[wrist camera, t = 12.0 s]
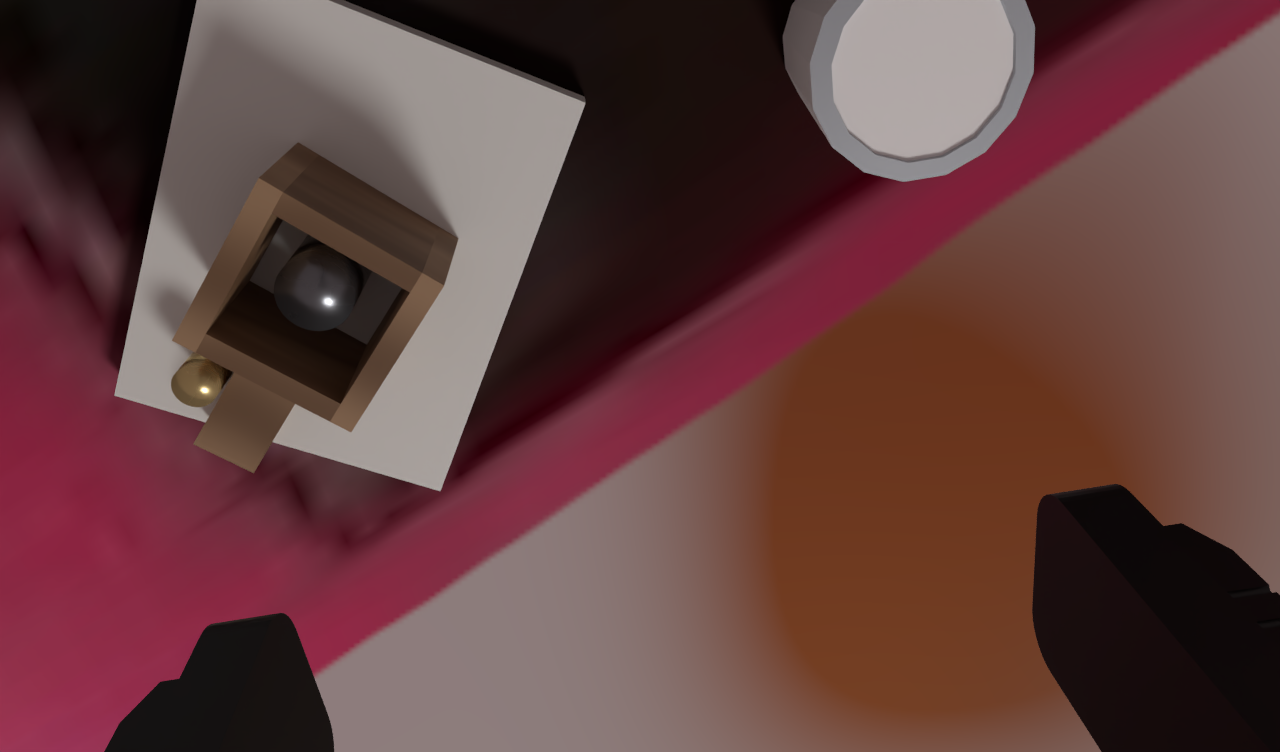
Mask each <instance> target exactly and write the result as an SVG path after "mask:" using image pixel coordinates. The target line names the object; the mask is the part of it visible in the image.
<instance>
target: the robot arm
mask: <svg viewBox="0 0 1280 752" xmlns="http://www.w3.org/2000/svg"><path fill="white" fill-rule="evenodd" d="M1032 611H1033V612H1032V613H1033V622H1034V629H1035V633H1036V638H1037V641H1038V645H1039V648H1040V651H1041V653H1042V656H1043V658H1044V661H1045V663H1046V665H1047V667H1048V668H1049V670H1050V672H1051V673H1052V675H1053V677H1054V678H1055V680H1056V681H1057V683H1058V684H1059V686H1060V687H1061V689H1062V691H1063V692H1064V693H1065V695H1066V697H1067V698H1068V700H1069V702H1070V703H1071V705H1072V706H1073V708H1074V709H1075V711H1076V712H1077V714H1078V716H1079V717H1080V719H1081V720H1082V722H1083V723H1084V725H1085V726H1086V728H1087V730H1088V731H1089V733H1090V734H1091V736H1092V738H1093V739H1094V741H1095V742H1096V744H1097V745H1098V747H1099V748H1100V750H1101V752H1280V595H1279V594H1278V593H1277V592H1276V593H1272V592H1271V591H1270V588H1269V585H1268V584H1267V583H1266V582H1265V581H1264V580H1263V579H1262V578H1261V577H1260V576H1259V575H1258V574H1257V573H1256V572H1255V571H1254V570H1253V569H1252V568H1251V567H1250V566H1249V565H1248V564H1247V563H1246V562H1245V561H1243V560H1242V559H1241V558H1240V557H1239V556H1238V555H1237V554H1236V553H1235V552H1234V551H1233V550H1232V549H1230V548H1228V547H1226V546H1224V545H1222V544H1220V543H1218V542H1216V541H1214V540H1212V539H1210V538H1209V537H1207V536H1205V535H1203V534H1201V533H1199V532H1197V531H1195V530H1193V529H1191V528H1189V527H1188V526H1186V525H1184V524H1181V523H1180V524H1175V525H1168V526H1163V525H1162V524H1161V523H1160V522H1159V521H1158V520H1157V519H1156V518H1155V517H1154V516H1153V515H1152V514H1151V513H1150V512H1149V511H1148V510H1147V509H1146V508H1145V507H1144V506H1143V505H1142V504H1141V503H1140V502H1139V501H1138V500H1137V499H1136V498H1135V497H1134V496H1133V495H1132V494H1131V493H1130V492H1129V491H1128V490H1127V489H1126V488H1124V487H1123V486H1121V485H1118V484H1113V485H1106V486H1100V487H1093V488H1087V489H1081V490H1074V491H1068V492H1061V493H1055V494H1049V495H1046V496H1044V497H1043V498H1042V499H1041V501H1040V503H1039V507H1038V512H1037V528H1036V548H1035V567H1034V587H1033V609H1032ZM104 752H334V741H333V733H332V728H331V723H330V720H329V717H328V714H327V711H326V708H325V706H324V703H323V700H322V698H321V695H320V692H319V690H318V687H317V684H316V681H315V679H314V676H313V673H312V671H311V668H310V665H309V663H308V660H307V657H306V655H305V652H304V649H303V647H302V644H301V641H300V639H299V636H298V633H297V631H296V628H295V626H294V624H293V622H292V621H291V619H290V618H289V617H288V616H287V615H286V614H283V613H278V614H272V615H265V616H259V617H253V618H246V619H240V620H234V621H227V622H221V623H215V624H211V625H209V626H207V627H206V628H205V630H204V631H203V632H202V634H201V636H200V638H199V640H198V642H197V644H196V646H195V648H194V650H193V652H192V654H191V656H190V658H189V660H188V662H187V664H186V666H185V668H184V670H183V672H182V674H181V676H180V678H179V679H175V680H169V681H163V682H160V683H159V684H158V685H157V686H156V687H155V688H154V689H153V690H152V691H151V692H150V693H149V694H148V695H147V696H146V697H145V698H144V699H143V700H142V701H141V702H140V703H139V704H138V705H137V706H136V707H135V708H134V709H133V710H132V711H131V712H130V713H129V714H128V715H127V716H126V717H125V718H124V719H123V720H122V721H121V722H120V724H119V725H118V727H117V729H116V731H115V733H114V735H113V737H112V738H111V740H110V742H109V744H108V746H107V748H106V750H105V751H104Z"/></svg>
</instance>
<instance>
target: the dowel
mask: <svg viewBox="0 0 1280 752" xmlns="http://www.w3.org/2000/svg"><path fill="white" fill-rule="evenodd" d="M232 374H233V372H232V371H230V370H228V369H226V368H224V367H222V366H220V365H218V364H216V363H214V362H212V361H211V360H209V359H207V358H205V357H203V356H201V355H199V354H197V353H195V352H192V354H191V355H190V356H189V357H188V358H187V360H186V361H185V362H184V363H183V365H182V366H181V367H180V368H179V369H178V371H177V372H176V373H175V374H174V376H173V377H172V380H171V389H172V392H173V394H174V395H175V397H176V398H177V399H178V400H179V401H181V402H182V403H184V404H186V405H188V406H191V407H204V406H207V405H209V404H210V403H212V402H213V401H214V399H215V398H216V397H217V395H218V394H219V392H220V391H221V389H222V388H223V387H224V385H225V384H226V382H227V381H228V379H229V378H230V377H231V375H232Z"/></svg>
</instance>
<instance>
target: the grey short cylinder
mask: <svg viewBox="0 0 1280 752" xmlns="http://www.w3.org/2000/svg"><path fill="white" fill-rule="evenodd" d="M1034 38H1035V25H1034V23H1033V20H1032V17H1031V15H1030V12H1029V10H1028V7H1027V5H1026V2H1025V0H795V1H794V3H793V4H792V6H791V10H790V13H789V16H788V20H787V23H786V27H785V30H784V33H783V47H784V60H785V68H786V70H787V72H788V74H789V76H790V78H791V80H792V82H793V84H794V86H795V88H796V90H797V92H798V94H799V95H800V97H801V99H802V100H803V102H804V103H805V105H806V106H807V108H808V110H809V111H810V113H811V114H812V116H813V118H814V119H815V121H816V122H817V124H818V125H819V127H820V129H821V130H822V132H823V133H824V135H825V136H826V138H827V140H828V141H829V143H830V144H831V146H832V147H833V148H834V149H835V150H837V151H838V152H839V153H840V154H842V155H843V156H844V157H845V158H847V159H848V160H849V161H851V162H852V163H853V164H854V165H856V166H857V167H858V168H859V169H861V170H862V171H863V172H865V173H870V174H874V175H878V176H882V177H886V178H890V179H895V180H899V181H903V182H905V181H911V180H917V179H923V178H929V177H935V176H941V175H946V174H948V173H950V172H952V171H953V170H955V169H957V168H959V167H960V166H962V165H964V164H965V163H967V162H969V161H971V160H972V159H974V158H976V157H978V156H979V155H981V154H983V153H984V152H986V151H987V149H988V148H989V147H990V146H991V145H992V144H993V142H994V141H995V140H996V139H997V138H998V137H999V135H1000V134H1001V133H1002V132H1003V131H1004V130H1005V129H1006V127H1007V126H1008V125H1009V124H1010V123H1011V122H1012V120H1013V119H1014V118H1015V117H1016V115H1017V112H1018V110H1019V107H1020V105H1021V102H1022V100H1023V97H1024V95H1025V92H1026V90H1027V87H1028V85H1029V82H1030V80H1031V78H1032V75H1033V73H1034Z"/></svg>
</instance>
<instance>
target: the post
mask: <svg viewBox="0 0 1280 752" xmlns="http://www.w3.org/2000/svg"><path fill="white" fill-rule="evenodd" d="M371 273H372V271H371V270H370V269H368V268H366V267H364V266H363V265H361V264H359V263H357V262H356V261H354V260H352V259H350V258H349V257H347V256H345V255H343V254H342V253H340V252H338V251H336V250H335V249H333V248H331V247H329V246H328V245H326V244H324V243H322V242H321V241H319V240H317V239H315V238H314V237H312V236H310V235H307V237H306V238H305V239H304V241H303V242H302V243H301V245H300V246H299V247H298V249H297V250H296V251H295V253H294V254H293V255H292V256H291V258H290V259H289V260H288V262H287V263H286V264H285V266H284V267H283V268H282V270H281V271H280V272H279V274H278V275H277V277H276V280H275V284H274V297H275V301H276V304H277V306H278V308H279V310H280V311H281V312H282V314H283V315H284V316H285V317H286V318H287V319H288V320H289V321H290V322H292V323H293V324H295V325H297V326H299V327H301V328H304V329H307V330H312V331H325V330H330V329H333V328H335V327H337V326H339V325H340V324H342V323H343V322H344V321H345V320H346V319H347V318H348V317H349V315H350V313H351V312H352V310H353V308H354V306H355V304H356V302H357V300H358V298H359V296H360V294H361V292H362V290H363V288H364V286H365V284H366V282H367V280H368V278H369V277H370V275H371Z"/></svg>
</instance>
